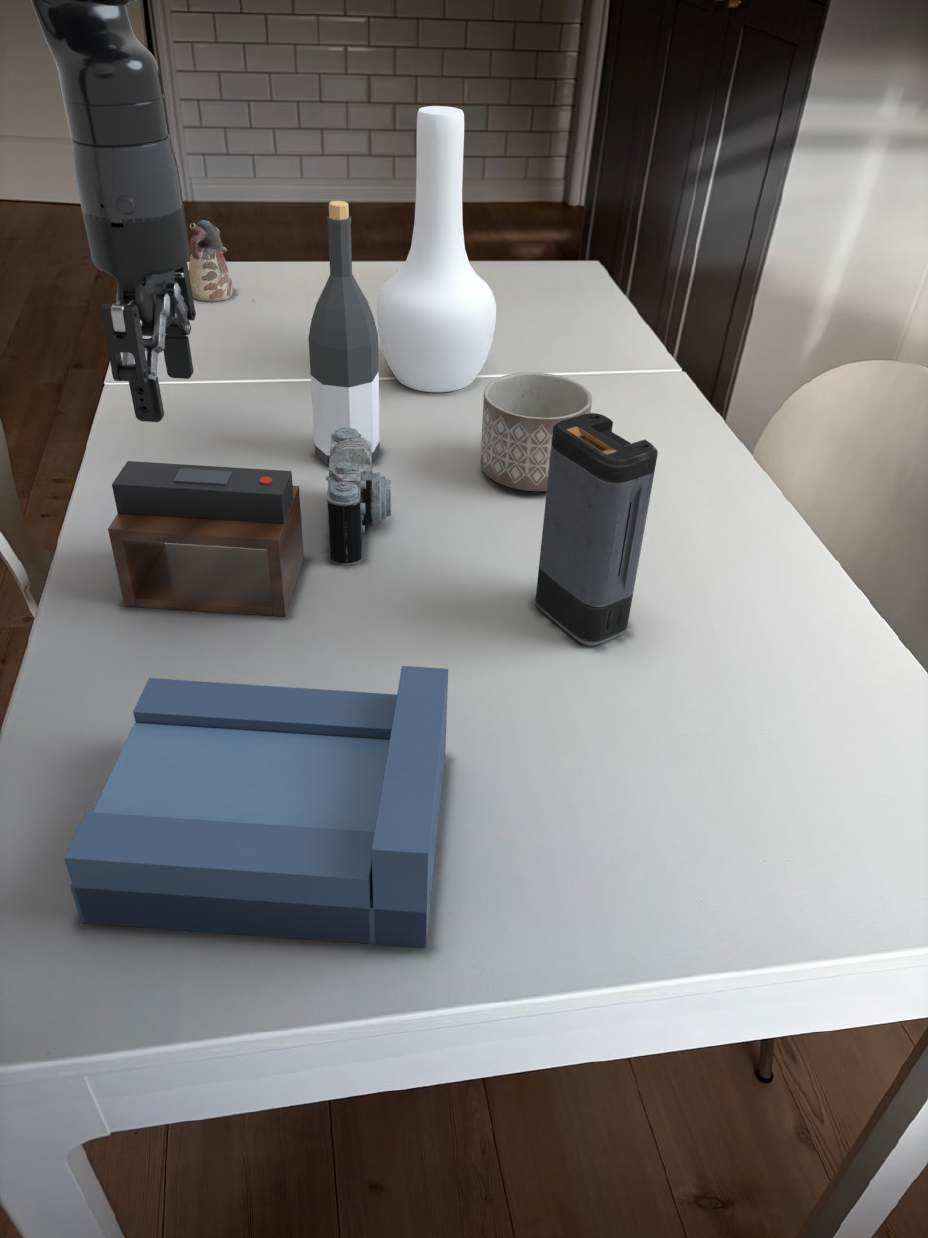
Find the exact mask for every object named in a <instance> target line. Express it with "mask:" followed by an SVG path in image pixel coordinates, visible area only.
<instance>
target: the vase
mask: <svg viewBox="0 0 928 1238" xmlns="http://www.w3.org/2000/svg"><path fill="white" fill-rule="evenodd" d="M416 113H417V116H416V170H415V171H416V173H415V174H416V175H415V176H416V178H415V180H416V181H415V205H414V207H415V208H414V223H413V230H412V237H411V245H410V249H409V252H408V255H407V257H406V259H405V262H404V263H403V264H402V266H401V267H400V269H398V271H397V272H395V274H393V275H392V276H391V277H390V278H388V279H387V280H386V281H385V282H384V283H383V285H382V287H381V289H380V291H379V294H378V296H377V302H376V322H377V323H376V324H377V332H378V337H379V339H380V344H381V348H382V351H383V355H384V358H385V360H386V363H387V364H388V366H389V368H390V370H391V372H392V374H393V375H394V376H395V378H396V379H397V381H398V382H399V383H401V384H402V385H403V386H405V387H407V388H410V389H411V390H416V391H419V392H427V393H449V392H455V391H459V390H462V389H465V388H466V387H469V386H470V385H471V384H472V383H473V382H474V381H475V380H476V378H477V376H478V375H479V374H480V372H481V371H482V370H483V367H484V365H485V364H486V361H487V359H488V356H489V353H490V351H491V347H492V344H493V339H494V335H495V331H496V330H495V329H496V324H497V323H496V322H497V302H496V298H495V296H494V292H493V291H492V289H491V287H490V286H489V284H488V283H487V282H486V281H485V280H484V279H483V278H482V277H481V276H480V275H478V274H477V273H476V271H475V270H474V268H473V267H472V265H471V263H470V261H469V257H468V254H467V250H466V245H465V235H464V225H463V224H464V223H463V220H464V219H463V182H464V181H463V177H464V176H463V175H464V151H465V150H464V149H465V148H464V147H465V112H464V110H463V109H460V108H458V107H454V106H445V105H429V106H422V107H420V108H418V111H417V112H416Z"/></svg>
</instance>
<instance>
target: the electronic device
mask: <svg viewBox="0 0 928 1238" xmlns="http://www.w3.org/2000/svg"><path fill="white" fill-rule="evenodd" d="M613 425H614V422H613V420H612V419H611V418H609V417H607V416H606V415H603V414H601V413H597V412H591V413H588V414H583V415H580V416H576V417H573V418H569V419H566V420H563V421H560V422H559V423H557V424H556V425H555V426H554V427H553V434H552V444H551V453H550V463H549V473H548V483H547V491H545V492H546V493H545V503H544V505H545V506H544V513H543V523H542V533H541V542H540V553H539V561H538V562H539V563H538V570H537V571H538V572H537V579H536V581H537V582H536V592H535V600H534V601H535V605H536V607H537V608H538V609H539V610H540V611H541V612H543V614H545V615H546V616H547V617H549V619H551V620H552V621H553V622H554V623H556V624H557V626H559V627H560V628H561V629H563V630H564V631H565V632H566V633H568V634H569V636H571V637H572V638H574V639H575V640H576V641H578V642H579V643H581V644H583V645H585V646H590V647H591V646H593V647H594V646H596V645H600V644H603V643H605V642H608V641H610V640H612V639H614V638H615V639H616V638H617V637H619V636H622V635H624V634H625V633H626V632H627V629H628V624H629V621H630V614H631V608H632V603H633V597H634V591H635V585H636V579H637V574H638V569H639V563H640V558H641V557H640V556H641V552H642V545H643V541H644V534H645V530H646V529H645V528H646V523H647V516H648V511H649V506H650V500H651V494H652V488H653V483H654V477H655V471H656V467H657V460H658V454H659V451H658V449H657V448H656V447H655V445H654V444H652V443H651V442H649V440H647V439H641V440H638V441H635V442H629V441H628V440H627V439H625V438H623V437H621V436H619V435H618V434H616V433H615V432H613V427H614V426H613Z"/></svg>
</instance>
